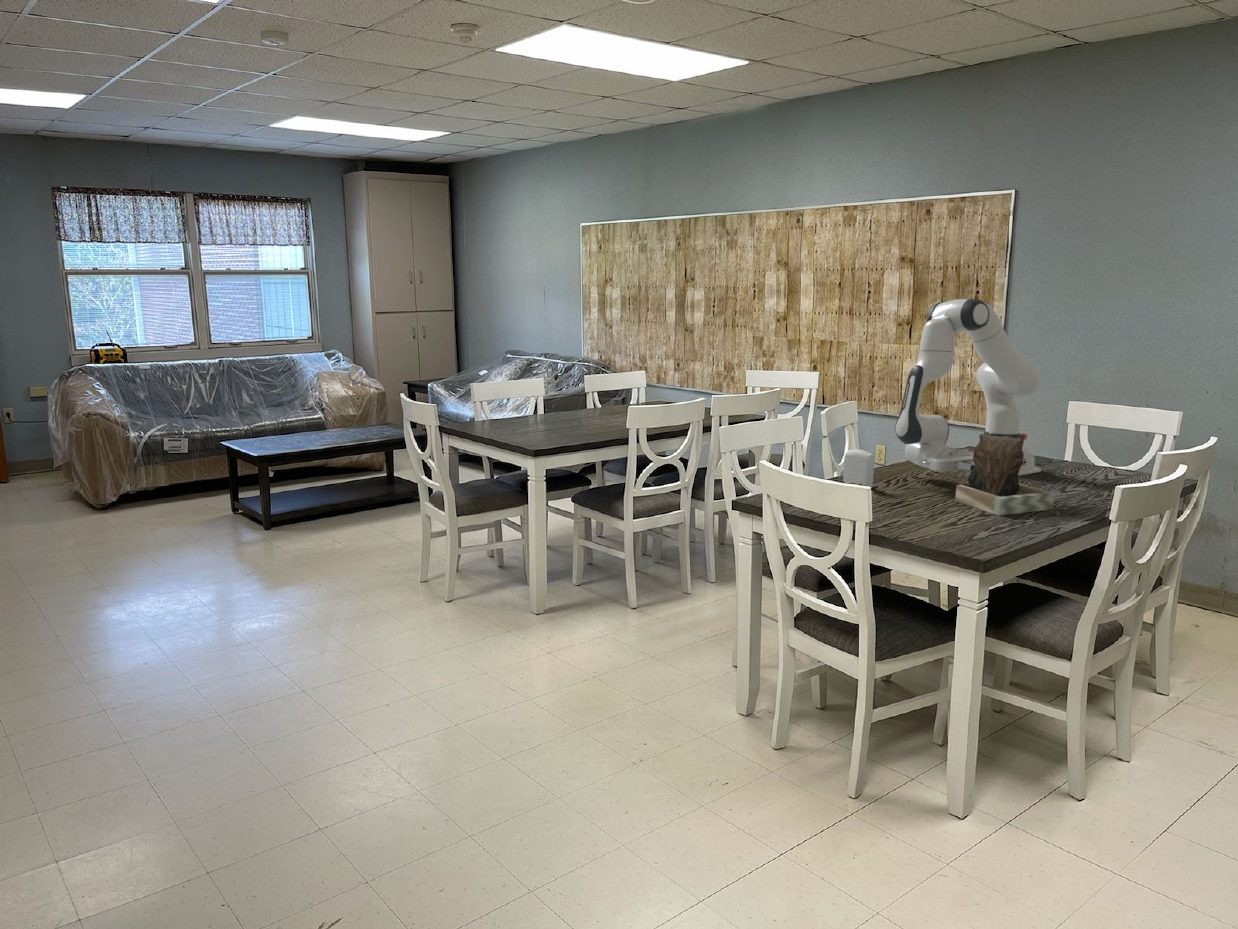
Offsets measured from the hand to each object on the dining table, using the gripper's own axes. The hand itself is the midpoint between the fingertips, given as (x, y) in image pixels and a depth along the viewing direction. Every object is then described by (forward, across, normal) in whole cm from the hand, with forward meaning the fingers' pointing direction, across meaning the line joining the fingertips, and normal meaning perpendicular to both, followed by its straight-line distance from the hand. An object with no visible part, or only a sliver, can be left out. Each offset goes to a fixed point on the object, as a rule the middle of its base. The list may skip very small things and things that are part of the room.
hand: (973, 467), depth 285 cm
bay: (+12, 0, +9) cm, 15 cm away
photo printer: (-22, -28, +9) cm, 36 cm away
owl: (+7, +2, +9) cm, 12 cm away
